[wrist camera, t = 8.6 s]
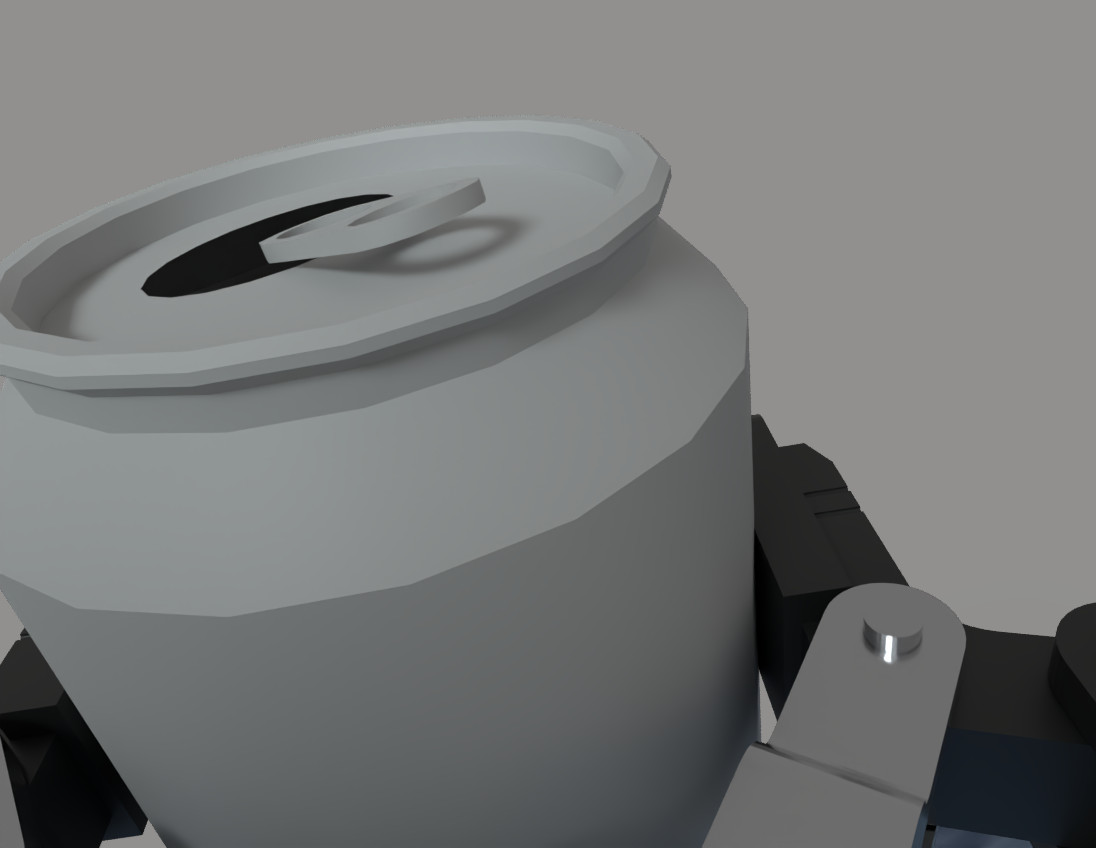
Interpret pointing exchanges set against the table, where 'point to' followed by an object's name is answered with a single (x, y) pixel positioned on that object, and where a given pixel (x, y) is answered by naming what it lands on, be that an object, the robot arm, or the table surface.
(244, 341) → the can
